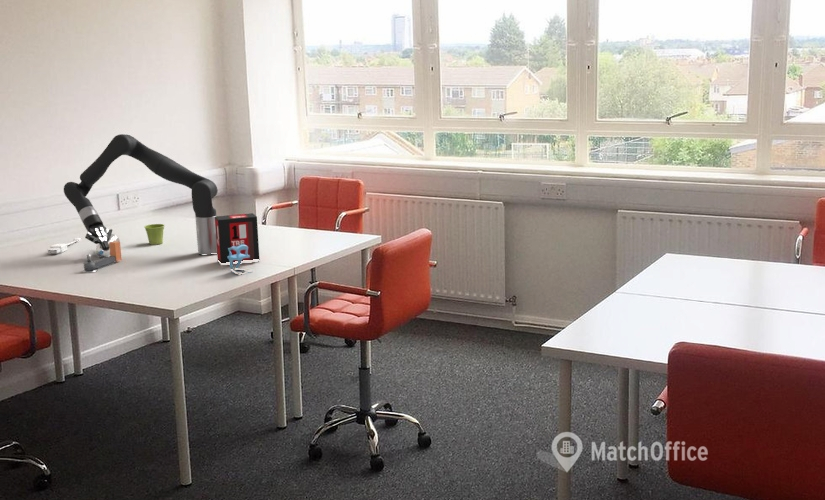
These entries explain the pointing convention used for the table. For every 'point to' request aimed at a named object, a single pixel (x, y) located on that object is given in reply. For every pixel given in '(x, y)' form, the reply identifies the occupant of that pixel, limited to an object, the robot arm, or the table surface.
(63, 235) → the table surface
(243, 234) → the black and red box
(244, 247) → the chair
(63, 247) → the charging cable
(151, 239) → the plant pot
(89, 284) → the table surface
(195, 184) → the robot arm
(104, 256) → the water bottle
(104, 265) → the grey rectangular frame
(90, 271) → the pivot base
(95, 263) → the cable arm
